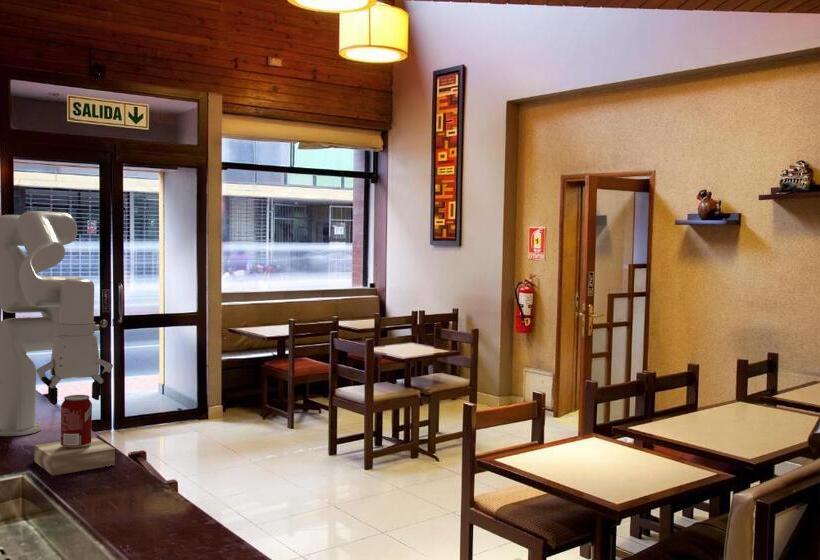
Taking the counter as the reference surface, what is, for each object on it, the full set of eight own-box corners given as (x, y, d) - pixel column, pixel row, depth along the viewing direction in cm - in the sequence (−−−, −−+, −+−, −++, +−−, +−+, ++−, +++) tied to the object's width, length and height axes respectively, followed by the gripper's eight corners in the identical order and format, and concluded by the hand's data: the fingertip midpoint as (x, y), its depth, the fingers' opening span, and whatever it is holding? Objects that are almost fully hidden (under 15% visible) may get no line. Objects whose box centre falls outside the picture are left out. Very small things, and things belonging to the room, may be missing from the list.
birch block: (34, 461, 178) (34, 445, 177) (93, 452, 187) (94, 436, 187) (52, 475, 167) (52, 458, 167) (114, 465, 177) (115, 448, 177)
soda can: (79, 451, 174) (80, 400, 173) (54, 448, 175) (55, 398, 174) (97, 443, 180) (97, 395, 180) (72, 441, 181) (73, 393, 181)
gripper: (107, 327, 185) (105, 394, 185) (32, 330, 173) (31, 402, 174) (118, 330, 179) (117, 400, 180) (42, 334, 167) (41, 408, 168)
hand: (74, 401), depth 177 cm, fingers open, 9 cm apart
